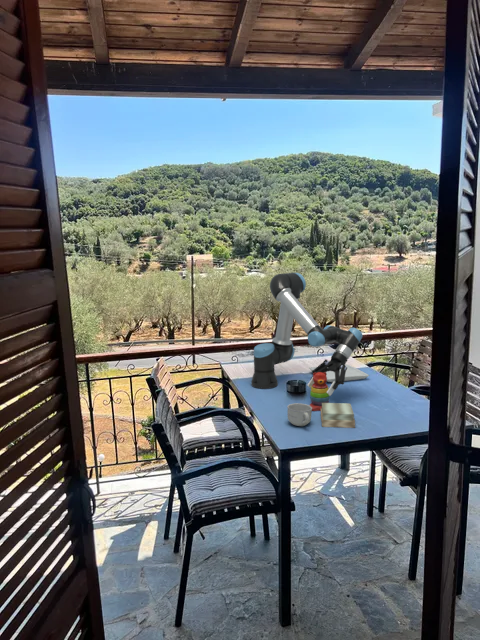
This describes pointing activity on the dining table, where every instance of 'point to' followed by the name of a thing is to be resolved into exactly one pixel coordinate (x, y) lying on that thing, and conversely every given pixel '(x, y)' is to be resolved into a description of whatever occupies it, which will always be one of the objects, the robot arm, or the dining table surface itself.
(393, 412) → the dining table surface
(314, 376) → the stacking bear
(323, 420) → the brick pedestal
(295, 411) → the teacup
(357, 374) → the square plate
